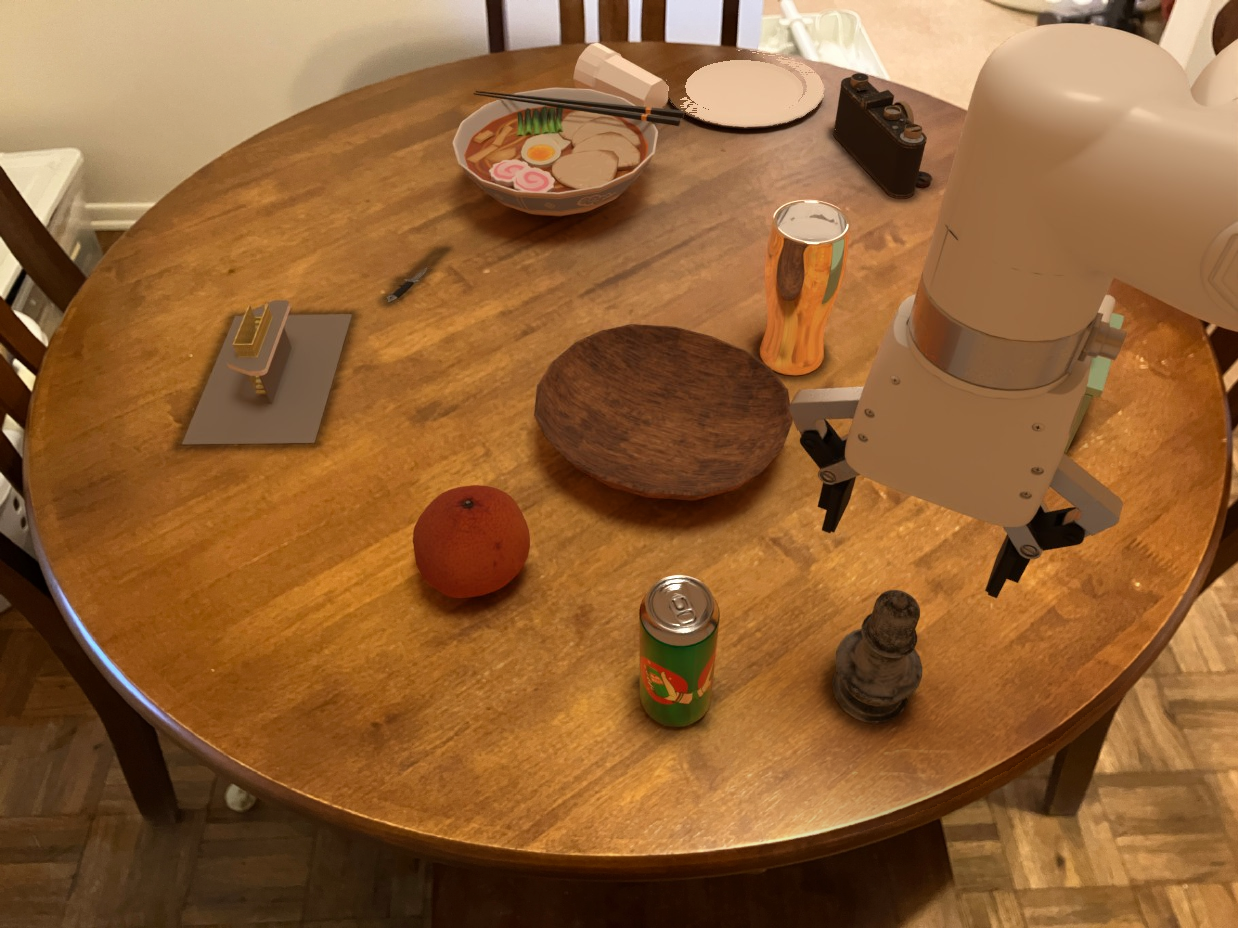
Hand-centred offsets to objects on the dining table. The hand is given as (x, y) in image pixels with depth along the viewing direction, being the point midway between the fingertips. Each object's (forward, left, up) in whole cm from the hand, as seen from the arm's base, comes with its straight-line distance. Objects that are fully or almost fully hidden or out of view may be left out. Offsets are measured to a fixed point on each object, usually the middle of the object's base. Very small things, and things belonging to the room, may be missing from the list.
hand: (913, 546), depth 57 cm
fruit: (+31, +4, -17) cm, 35 cm away
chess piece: (0, 0, -17) cm, 17 cm away
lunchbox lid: (-1, -35, -10) cm, 36 cm away
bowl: (+24, -15, -17) cm, 33 cm away
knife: (+58, -25, -17) cm, 65 cm away
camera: (+21, -69, -17) cm, 74 cm away
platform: (+61, -6, -17) cm, 63 cm away
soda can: (+12, +7, -17) cm, 22 cm away
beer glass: (+18, -31, -17) cm, 39 cm away
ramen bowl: (+52, -45, -17) cm, 71 cm away
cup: (+49, -65, -14) cm, 83 cm away
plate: (+42, -76, -17) cm, 89 cm away
